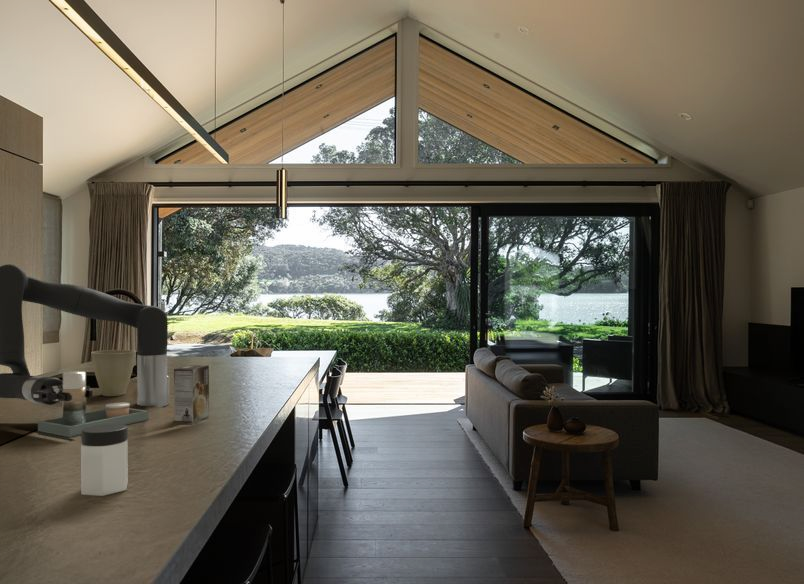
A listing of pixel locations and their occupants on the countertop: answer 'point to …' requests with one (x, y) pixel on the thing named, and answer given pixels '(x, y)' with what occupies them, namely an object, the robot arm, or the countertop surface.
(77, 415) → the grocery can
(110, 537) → the countertop surface
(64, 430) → the tray
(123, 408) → the small lidded tub
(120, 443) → the jar
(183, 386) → the coffee box
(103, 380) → the plant pot
